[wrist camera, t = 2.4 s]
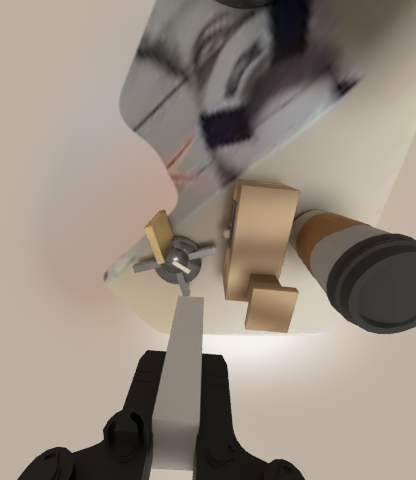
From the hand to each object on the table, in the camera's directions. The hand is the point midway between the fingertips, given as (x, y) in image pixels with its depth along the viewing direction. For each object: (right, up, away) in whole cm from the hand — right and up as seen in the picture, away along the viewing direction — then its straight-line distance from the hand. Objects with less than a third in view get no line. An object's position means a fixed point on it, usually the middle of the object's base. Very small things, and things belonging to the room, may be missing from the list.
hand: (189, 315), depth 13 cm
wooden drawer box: (+7, +6, +17) cm, 19 cm away
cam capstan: (-3, +3, +18) cm, 19 cm away
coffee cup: (+15, +6, +17) cm, 24 cm away
